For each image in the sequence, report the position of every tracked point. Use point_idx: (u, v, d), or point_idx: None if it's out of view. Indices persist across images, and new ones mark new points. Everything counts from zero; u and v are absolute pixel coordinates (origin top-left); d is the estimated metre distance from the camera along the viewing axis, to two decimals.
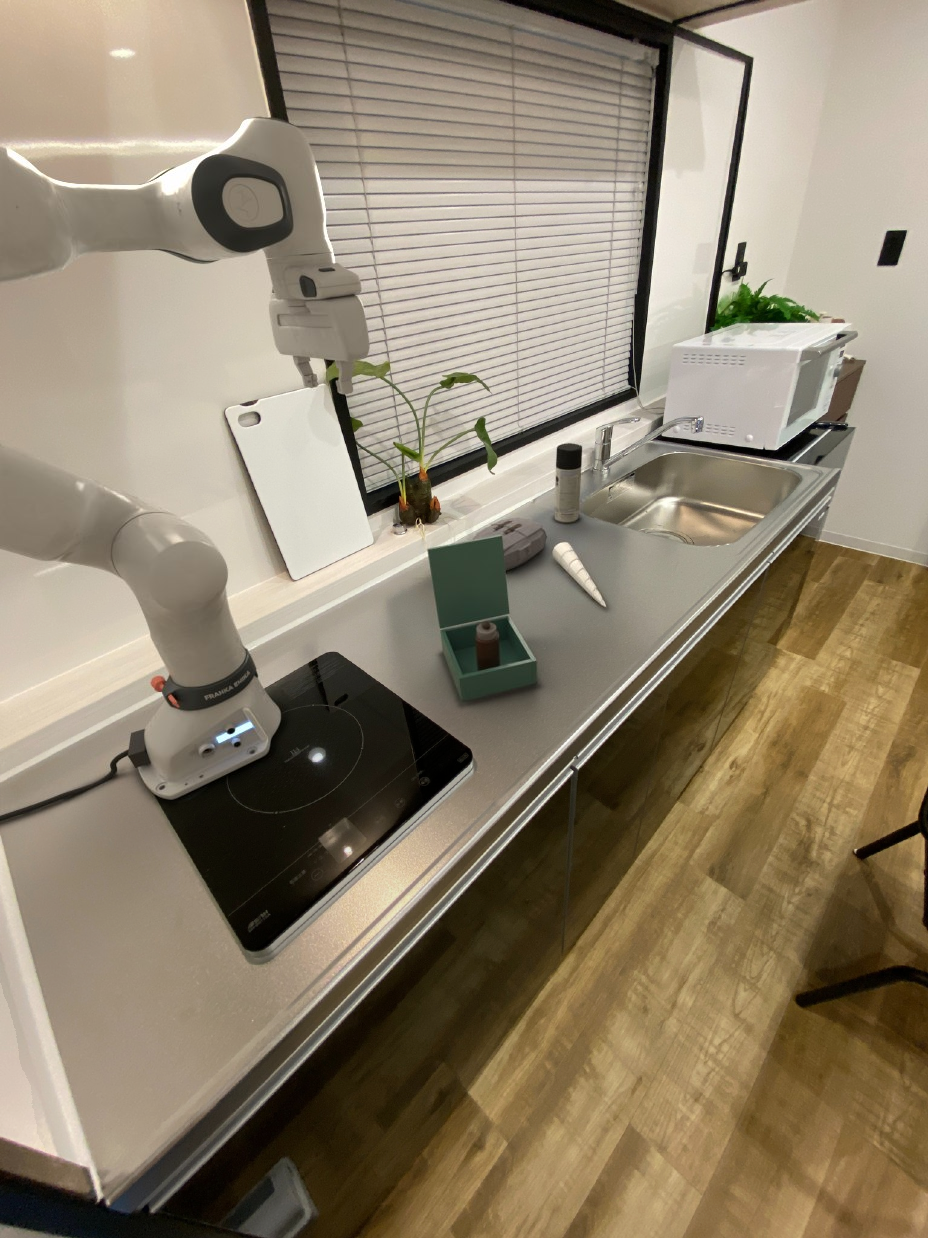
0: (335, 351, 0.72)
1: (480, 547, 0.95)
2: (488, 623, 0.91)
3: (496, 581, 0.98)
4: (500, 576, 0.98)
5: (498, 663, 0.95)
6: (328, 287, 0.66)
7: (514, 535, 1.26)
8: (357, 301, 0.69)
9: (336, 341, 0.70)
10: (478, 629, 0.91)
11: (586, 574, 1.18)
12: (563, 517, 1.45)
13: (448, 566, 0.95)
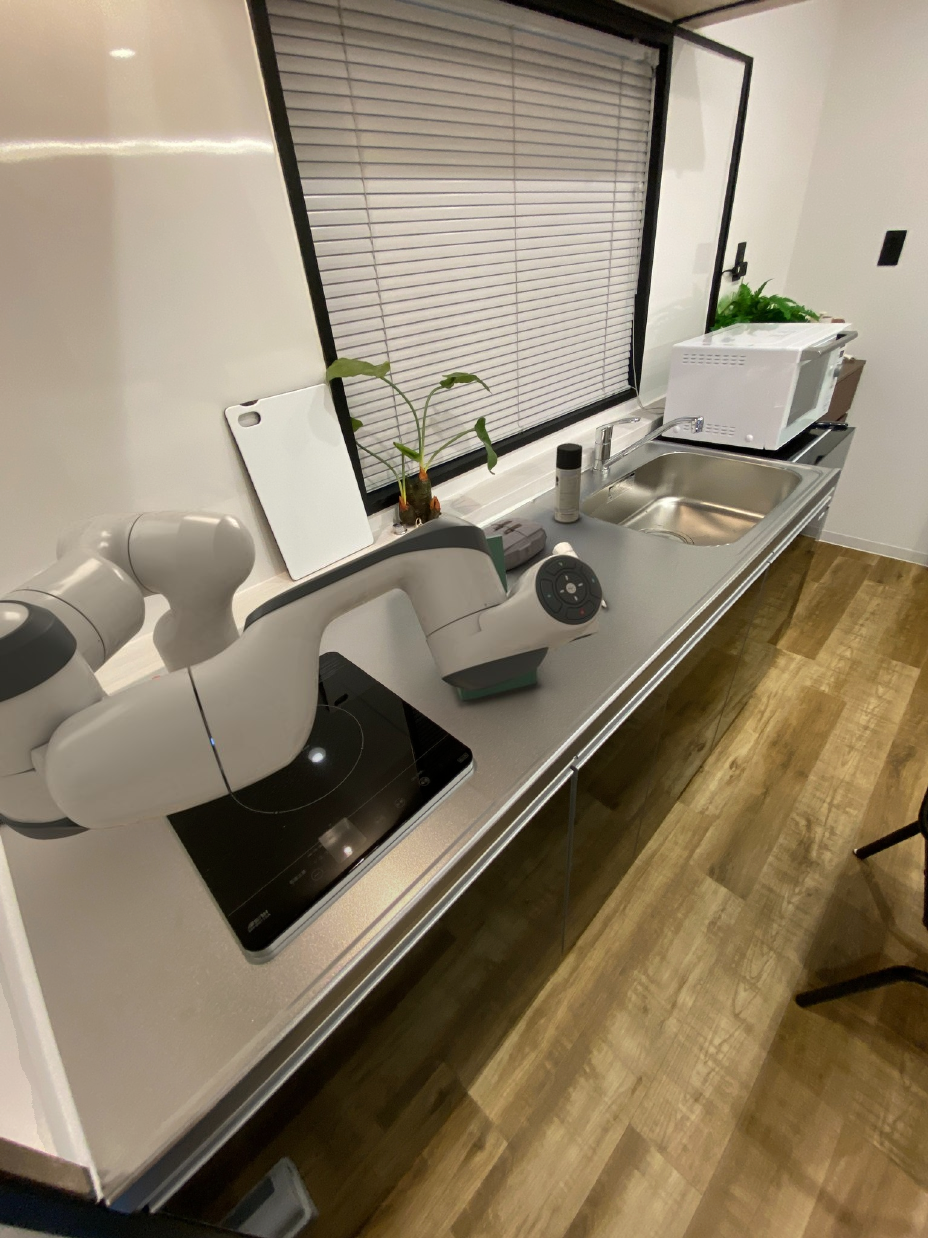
0: None
1: None
2: None
3: None
4: (500, 576, 0.98)
5: None
6: None
7: (514, 535, 1.26)
8: None
9: None
10: None
11: None
12: (563, 517, 1.45)
13: None
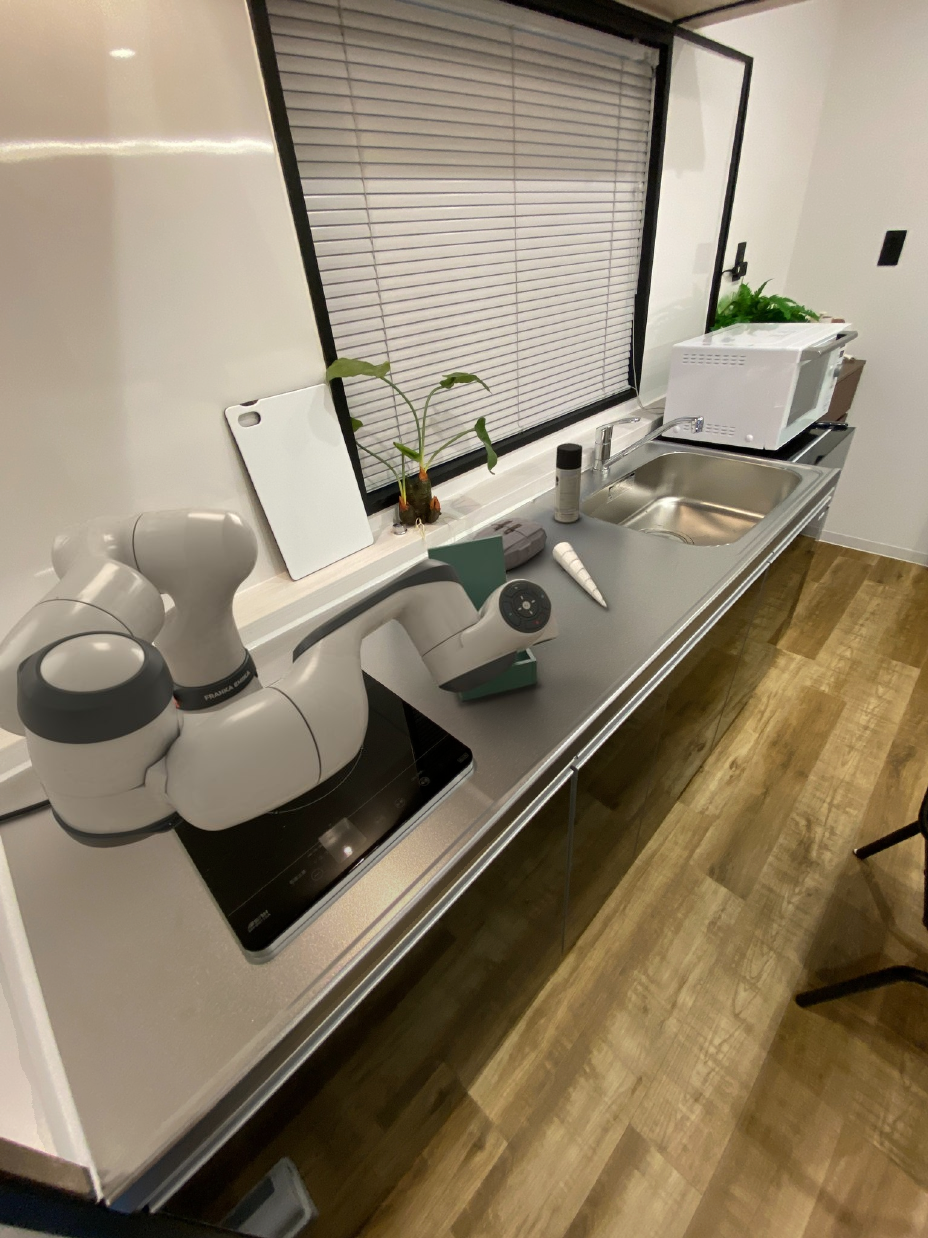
0: None
1: (480, 547, 0.95)
2: None
3: (496, 581, 0.98)
4: (500, 576, 0.98)
5: None
6: None
7: (514, 535, 1.26)
8: None
9: None
10: None
11: (586, 574, 1.18)
12: (563, 517, 1.45)
13: None
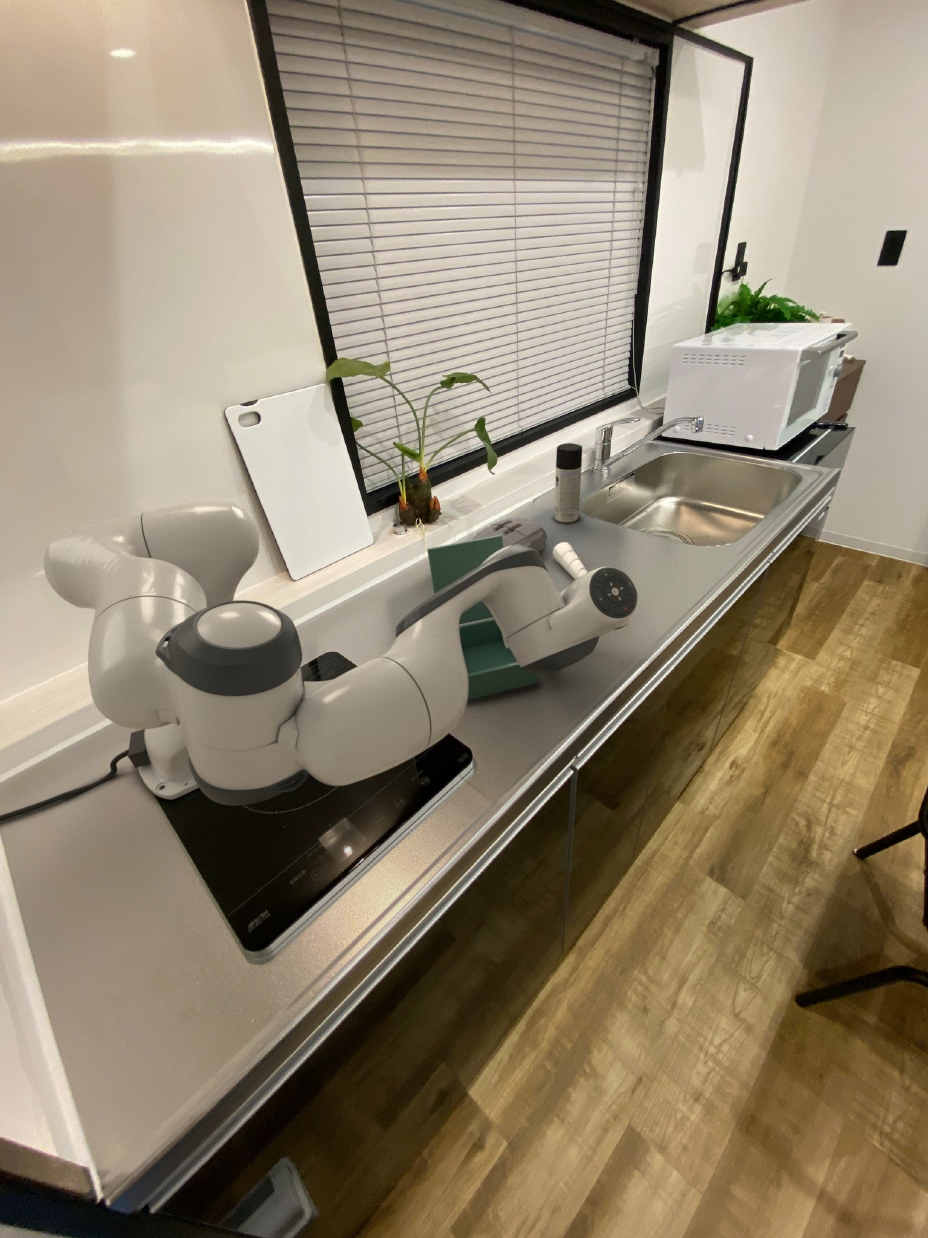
0: None
1: (480, 547, 0.95)
2: None
3: None
4: None
5: None
6: None
7: (514, 535, 1.26)
8: None
9: None
10: None
11: None
12: (563, 517, 1.45)
13: (448, 566, 0.95)
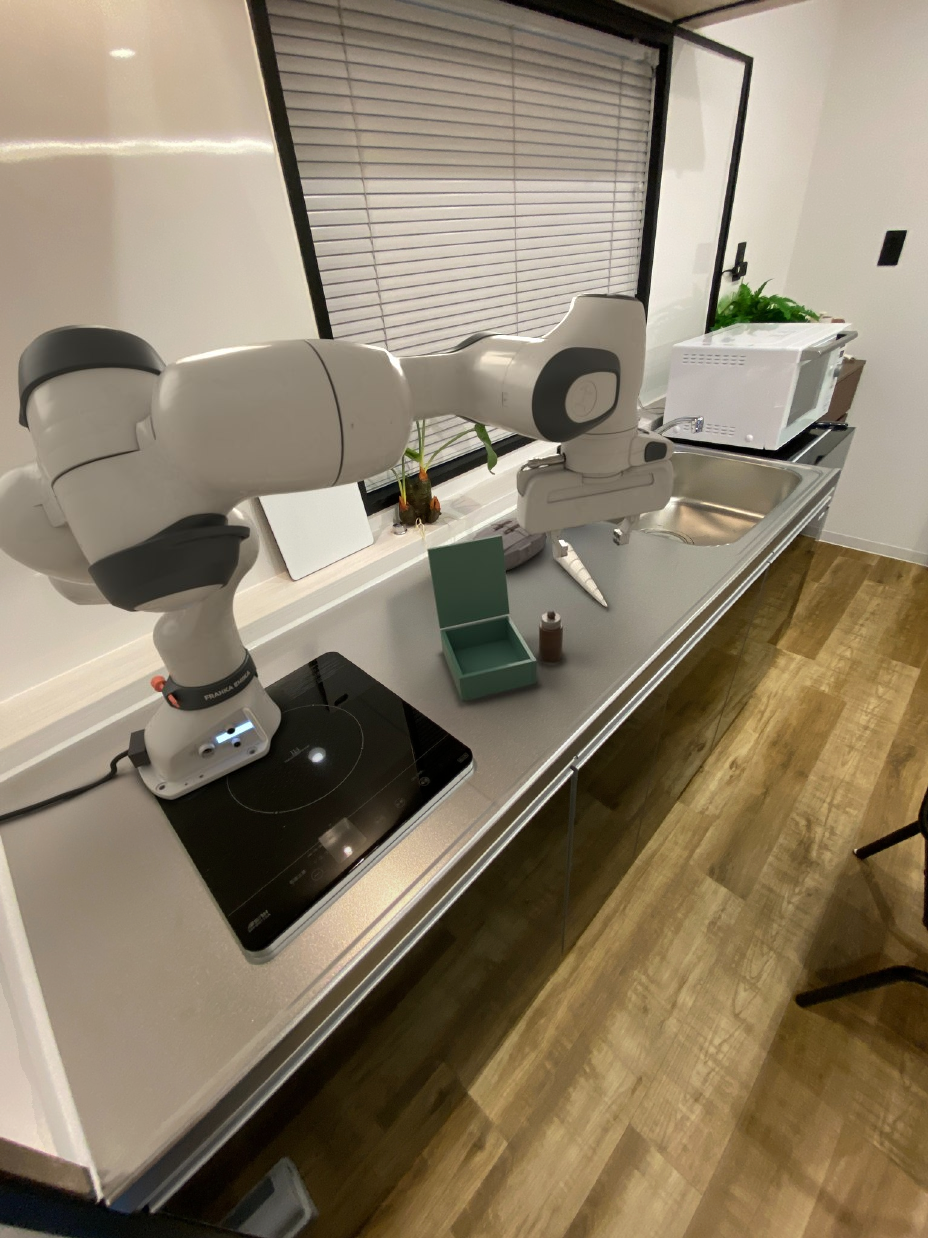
0: (649, 505, 0.69)
1: (480, 547, 0.95)
2: (553, 613, 0.93)
3: (496, 581, 0.98)
4: (500, 576, 0.98)
5: (561, 652, 0.97)
6: None
7: (514, 535, 1.26)
8: None
9: (656, 495, 0.68)
10: (543, 619, 0.94)
11: (587, 574, 1.18)
12: None
13: (448, 566, 0.95)
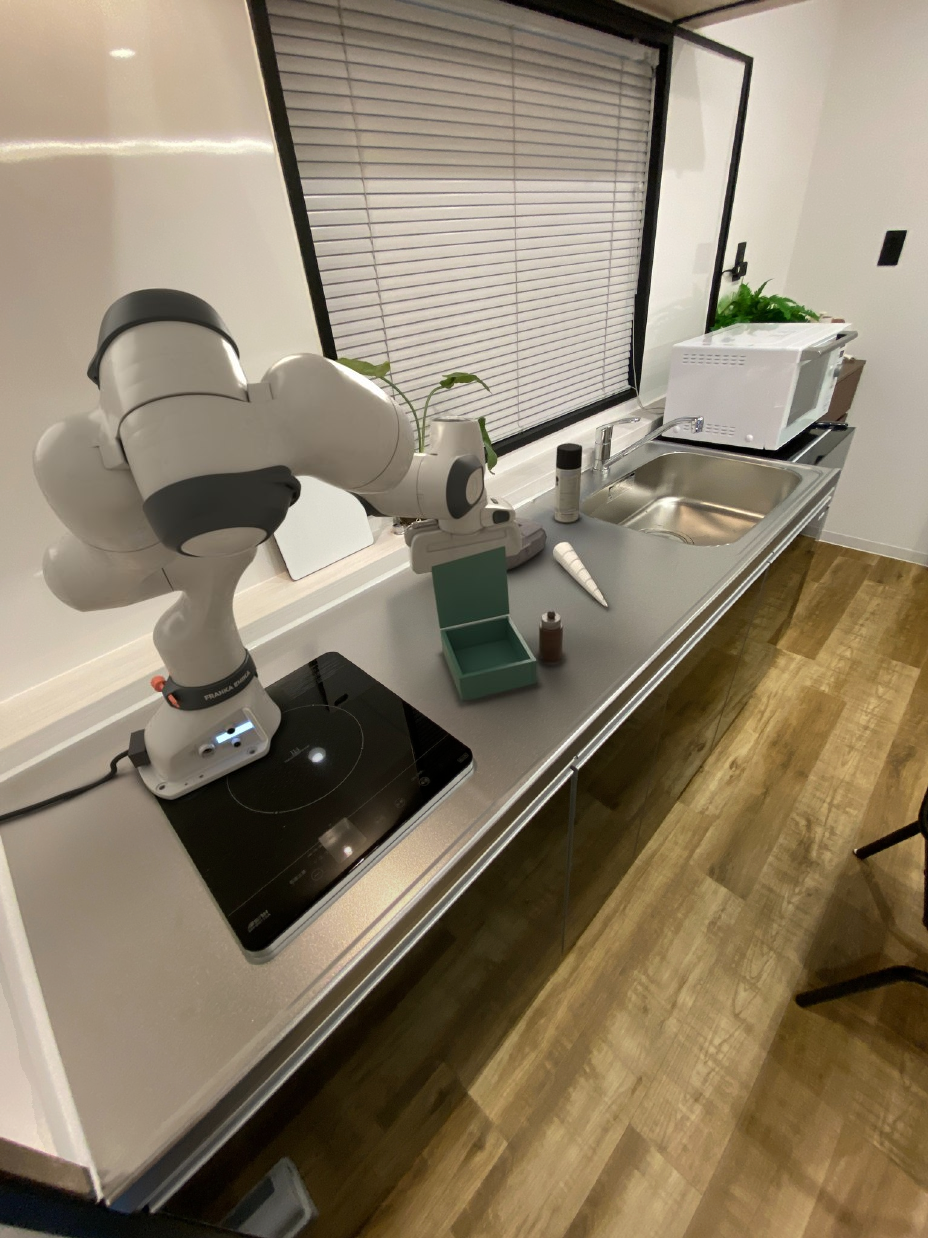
0: (506, 551, 0.95)
1: None
2: (553, 613, 0.93)
3: (497, 582, 0.97)
4: (501, 578, 0.97)
5: (561, 652, 0.97)
6: None
7: None
8: None
9: (509, 544, 0.94)
10: (543, 619, 0.94)
11: (587, 574, 1.18)
12: (563, 517, 1.45)
13: (449, 568, 0.94)
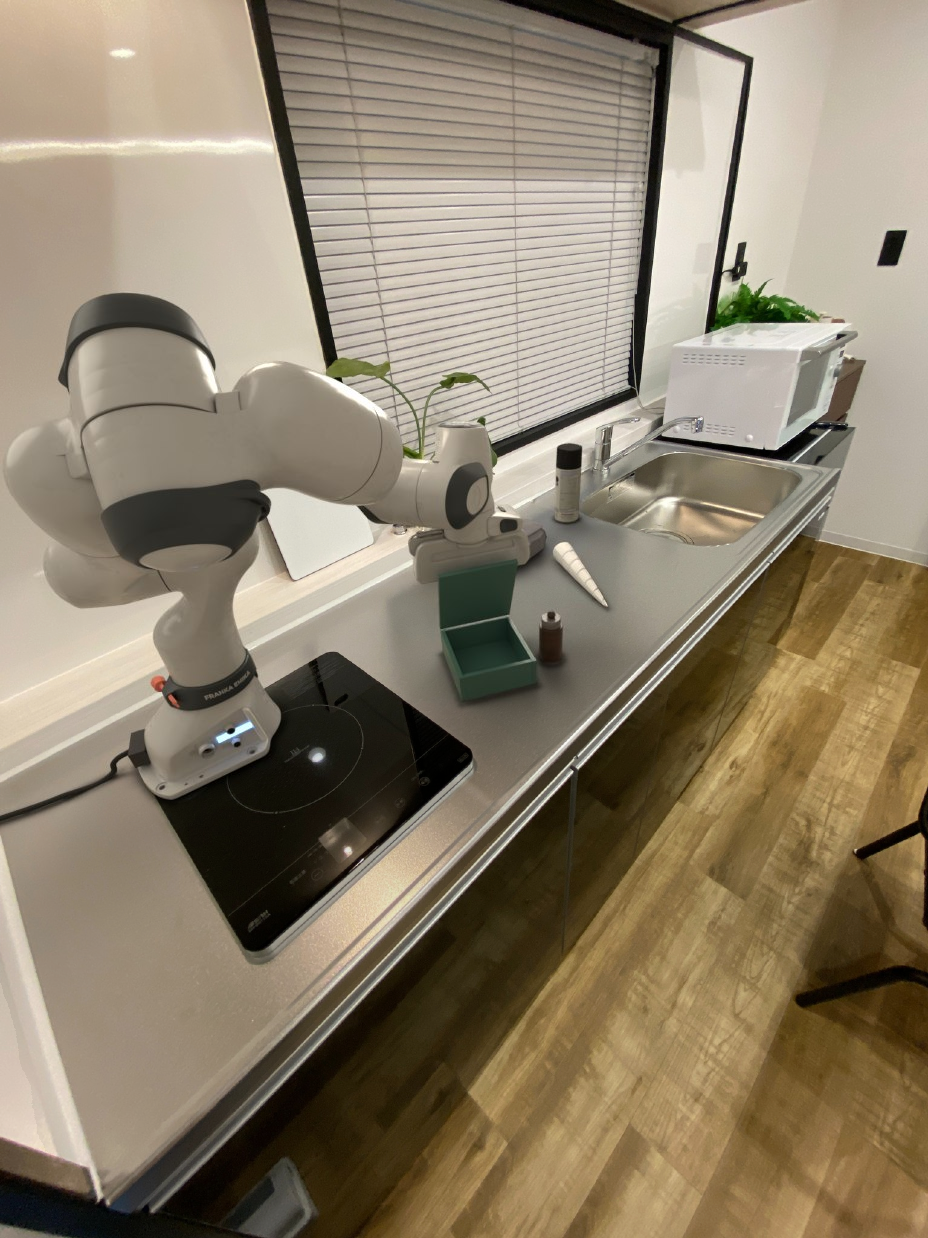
0: None
1: (493, 572, 0.89)
2: (553, 613, 0.93)
3: (502, 594, 0.95)
4: (508, 590, 0.95)
5: (561, 652, 0.97)
6: None
7: None
8: None
9: (517, 554, 0.91)
10: (543, 619, 0.94)
11: (587, 574, 1.18)
12: (563, 517, 1.45)
13: (457, 588, 0.90)
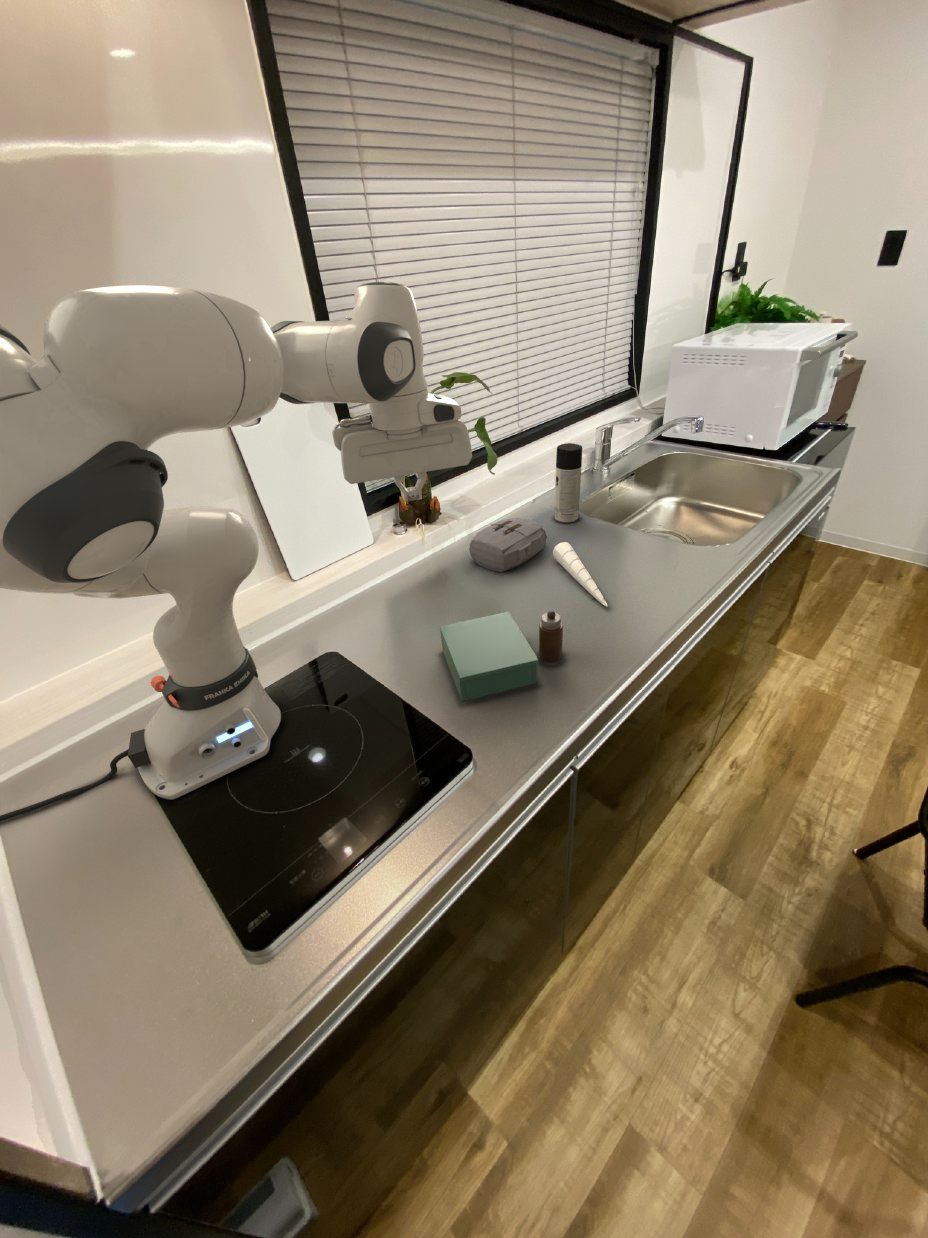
0: (453, 460, 0.83)
1: None
2: (553, 613, 0.93)
3: None
4: None
5: (561, 652, 0.97)
6: None
7: (514, 535, 1.26)
8: None
9: (457, 451, 0.82)
10: (543, 619, 0.94)
11: (587, 574, 1.18)
12: (563, 517, 1.45)
13: None
